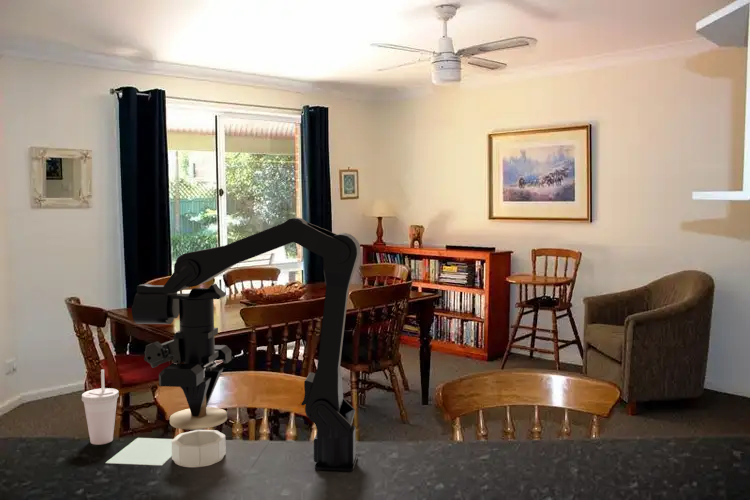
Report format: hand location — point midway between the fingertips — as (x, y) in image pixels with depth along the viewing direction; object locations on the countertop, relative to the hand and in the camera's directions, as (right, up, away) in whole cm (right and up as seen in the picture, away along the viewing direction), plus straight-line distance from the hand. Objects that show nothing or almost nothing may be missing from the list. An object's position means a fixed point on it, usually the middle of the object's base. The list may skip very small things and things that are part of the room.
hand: (198, 413), depth 113 cm
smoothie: (-20, -8, +9) cm, 24 cm away
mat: (-10, -8, +4) cm, 13 cm away
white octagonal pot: (0, -8, +1) cm, 8 cm away
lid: (0, -1, 0) cm, 1 cm away
